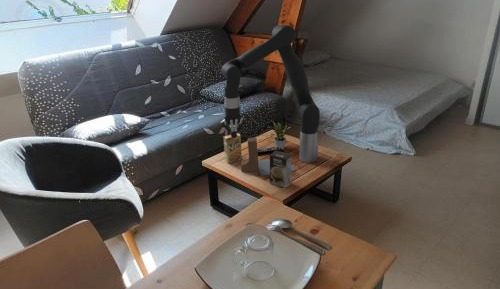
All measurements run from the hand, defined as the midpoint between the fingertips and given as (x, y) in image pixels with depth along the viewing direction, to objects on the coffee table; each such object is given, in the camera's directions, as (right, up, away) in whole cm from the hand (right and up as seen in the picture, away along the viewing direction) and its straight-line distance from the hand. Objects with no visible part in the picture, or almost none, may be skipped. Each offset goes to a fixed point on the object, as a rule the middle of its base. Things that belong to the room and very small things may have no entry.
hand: (233, 137), depth 181 cm
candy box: (-1, -13, +22) cm, 25 cm away
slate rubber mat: (+21, -15, +14) cm, 30 cm away
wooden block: (+8, -17, +11) cm, 22 cm away
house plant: (+25, -6, +34) cm, 43 cm away
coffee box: (+23, -23, -2) cm, 33 cm away
